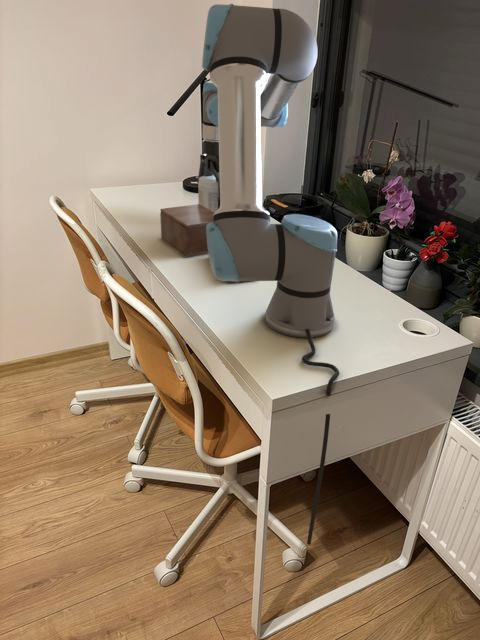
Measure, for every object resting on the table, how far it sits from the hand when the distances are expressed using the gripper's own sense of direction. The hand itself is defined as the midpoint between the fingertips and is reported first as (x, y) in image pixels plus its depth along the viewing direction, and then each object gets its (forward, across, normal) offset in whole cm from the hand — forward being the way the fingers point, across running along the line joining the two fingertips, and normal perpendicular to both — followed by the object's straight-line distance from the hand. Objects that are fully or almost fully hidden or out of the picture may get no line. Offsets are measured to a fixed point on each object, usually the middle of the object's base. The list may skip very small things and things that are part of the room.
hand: (213, 214), depth 174 cm
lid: (-5, -13, +14) cm, 20 cm away
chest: (+4, -13, +14) cm, 20 cm away
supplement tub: (+4, 0, 0) cm, 4 cm away
